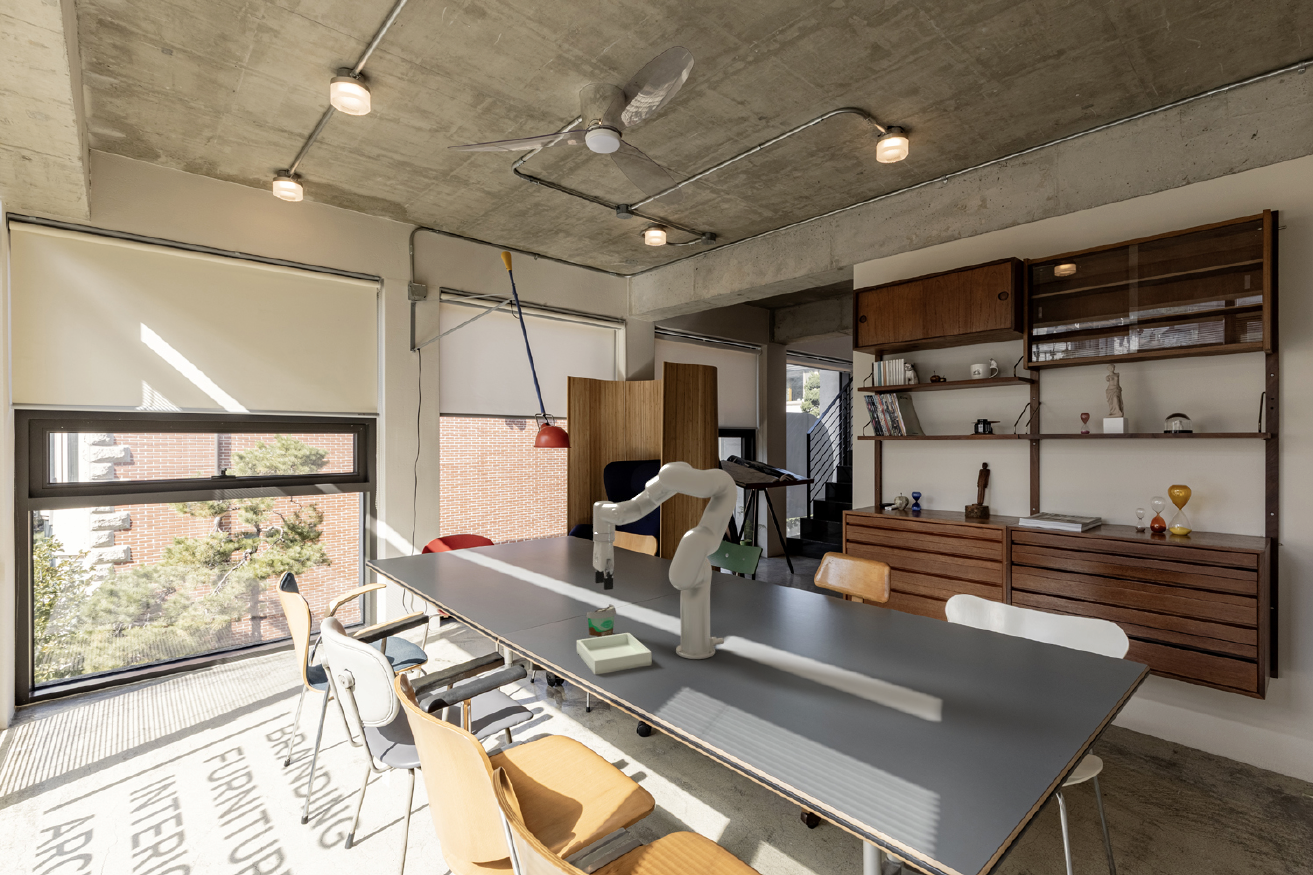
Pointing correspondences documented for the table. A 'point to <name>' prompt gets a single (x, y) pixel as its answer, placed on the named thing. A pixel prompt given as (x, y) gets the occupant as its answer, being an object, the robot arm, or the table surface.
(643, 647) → the tray
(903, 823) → the table surface
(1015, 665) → the table surface
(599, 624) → the food container
